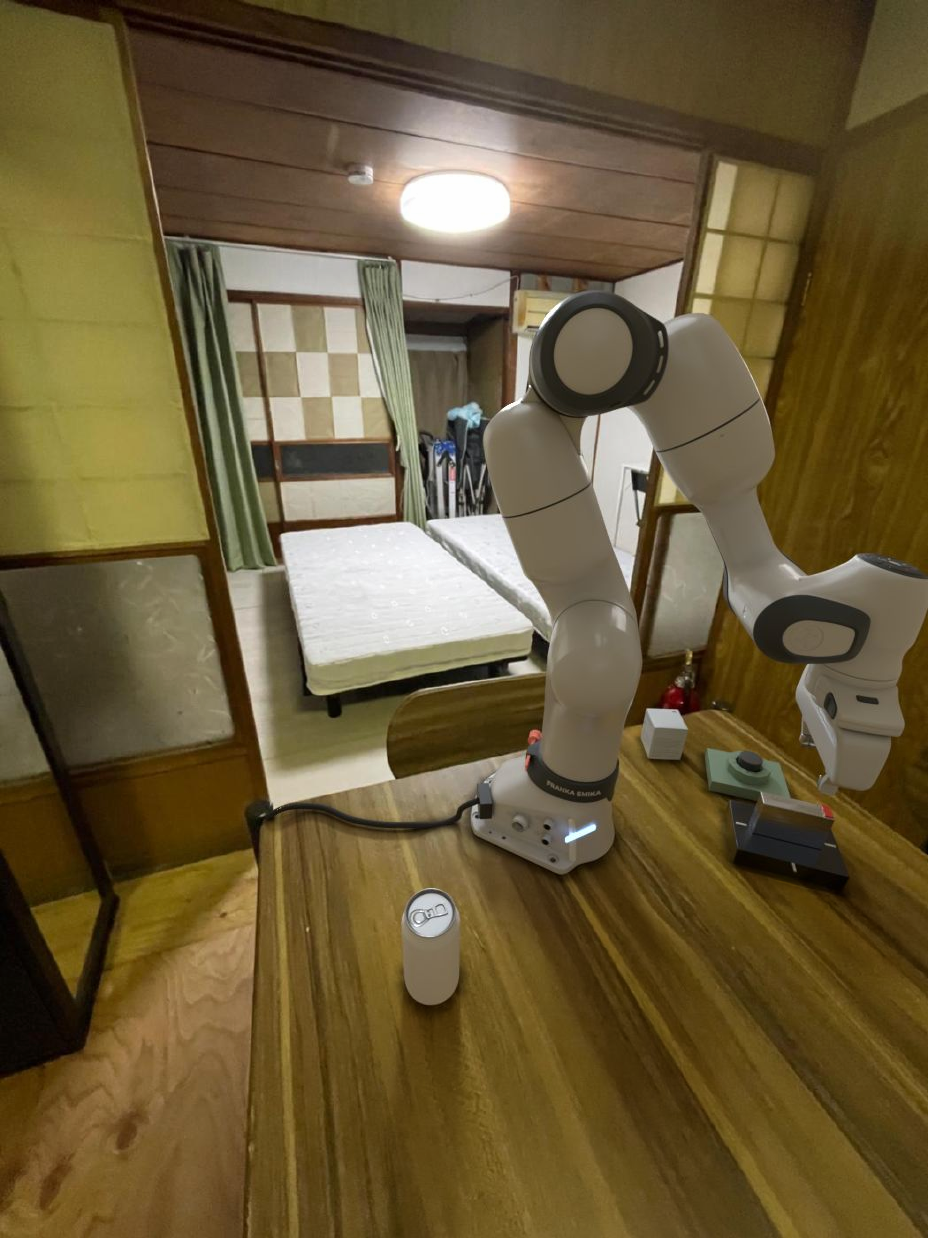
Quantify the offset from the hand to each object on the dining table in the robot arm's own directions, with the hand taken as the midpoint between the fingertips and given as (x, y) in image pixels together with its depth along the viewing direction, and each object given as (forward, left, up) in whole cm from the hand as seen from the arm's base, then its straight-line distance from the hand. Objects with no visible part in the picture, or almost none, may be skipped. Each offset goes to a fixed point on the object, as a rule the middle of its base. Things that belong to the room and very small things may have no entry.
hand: (815, 766), depth 70 cm
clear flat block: (0, 0, -13) cm, 13 cm away
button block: (-3, +14, -16) cm, 22 cm away
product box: (-17, +18, -17) cm, 30 cm away
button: (-3, +14, -13) cm, 19 cm away
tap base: (0, 0, -16) cm, 16 cm away
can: (-43, -34, -17) cm, 58 cm away
